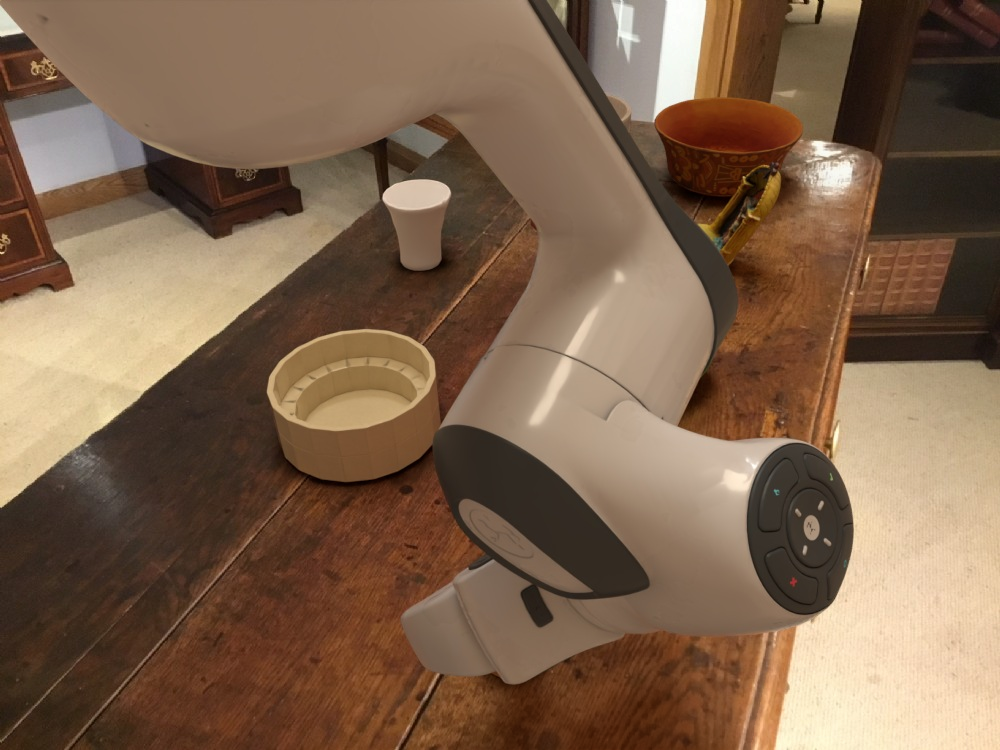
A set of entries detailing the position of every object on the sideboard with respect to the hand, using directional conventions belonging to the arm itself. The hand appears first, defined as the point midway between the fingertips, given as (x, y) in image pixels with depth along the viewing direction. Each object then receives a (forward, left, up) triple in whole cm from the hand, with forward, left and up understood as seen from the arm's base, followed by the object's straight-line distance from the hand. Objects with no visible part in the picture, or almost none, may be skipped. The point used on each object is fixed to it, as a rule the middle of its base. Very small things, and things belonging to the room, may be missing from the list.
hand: (502, 564), depth 60 cm
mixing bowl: (+23, +20, -9) cm, 31 cm away
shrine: (+62, -16, -10) cm, 64 cm away
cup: (+58, +23, -10) cm, 63 cm away
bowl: (+87, -16, -10) cm, 89 cm away
